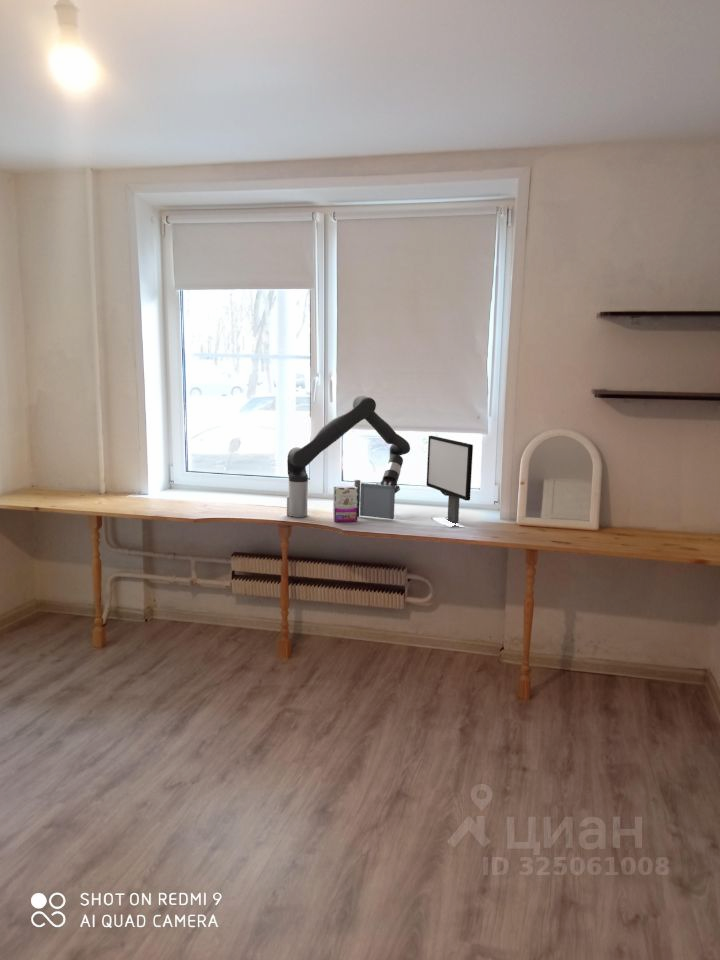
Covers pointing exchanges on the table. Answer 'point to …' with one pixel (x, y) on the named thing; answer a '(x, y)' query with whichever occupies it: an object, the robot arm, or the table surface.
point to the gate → (377, 500)
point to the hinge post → (357, 484)
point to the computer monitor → (450, 471)
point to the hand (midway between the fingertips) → (383, 501)
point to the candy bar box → (345, 504)
